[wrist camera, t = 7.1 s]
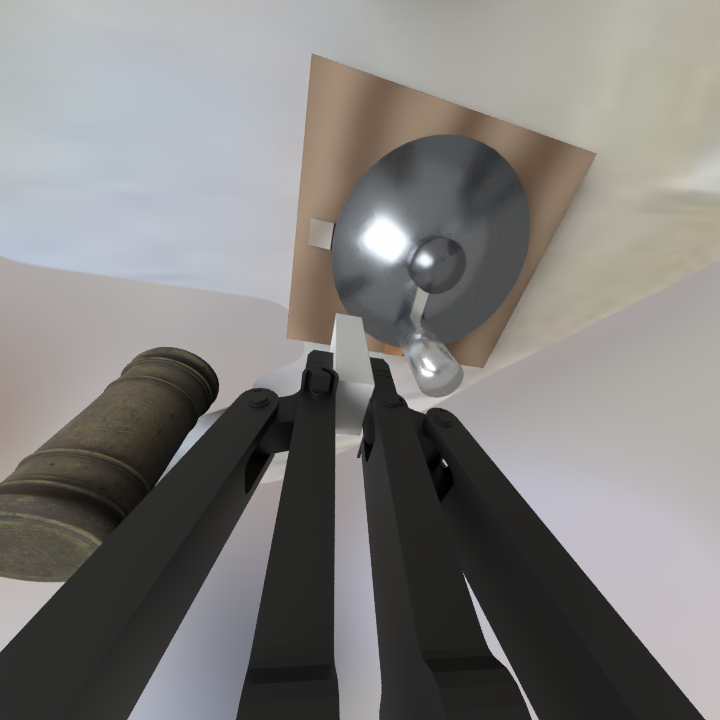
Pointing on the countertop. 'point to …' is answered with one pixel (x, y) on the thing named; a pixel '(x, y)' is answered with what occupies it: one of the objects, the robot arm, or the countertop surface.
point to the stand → (375, 140)
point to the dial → (431, 249)
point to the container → (100, 465)
